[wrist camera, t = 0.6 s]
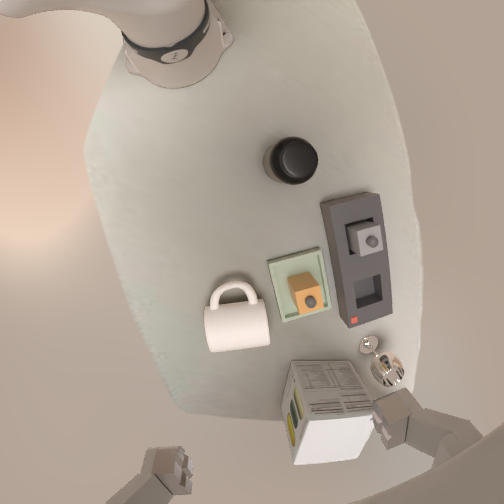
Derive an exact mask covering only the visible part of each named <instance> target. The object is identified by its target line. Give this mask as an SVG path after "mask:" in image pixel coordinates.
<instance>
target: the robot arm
mask: <svg viewBox="0 0 504 504" xmlns="http://www.w3.org/2000/svg"><path fill="white" fill-rule="evenodd" d="M53 10H78V11H85V12H91V13H96V14H99V15H103V16H105V17H107V18H109V19H110V20H112V22H114V23H115V24H116V25H117V26H118V27H119V28H120V29H121V32H122V35H123V37H124V38H123V43H124V44H125V45H126V49H125V54H126V56H127V63H126V68H127V70H128V72H129V73H131V74H135V75H141V76H143V77H145V78H146V79H148V80H149V81H150V82H152V83H153V84H155V85H158V86H161V87H165V88H181V87H186V86H189V85H192V84H194V83H197V82H199V81H200V80H202V79H203V78H205V77H206V76H207V75H208V74H209V73H210V72H211V71H212V70H213V69H214V68H215V66H216V65H217V63H218V61H219V59H220V56H221V54H222V53H223V51H225V50H226V49H227V48H228V47H229V46H230V45H231V44H232V43H233V36H232V34H231V32H230V31H229V29H228V27H227V26H226V24H225V22H224V21H223V19H222V17H221V16H220V14H219V13H218V11H217V9H216V8H215V6H214V5H213V3H212V2H211V0H0V14H1V15H4V16H7V17H12V18H22V17H26V16H29V15H32V14H36V13H40V12H46V11H53ZM223 33H225V35H223ZM372 407H373V409H374V412H373V413H372V418H373V423H374V426H375V429H376V431H377V432H378V433H380V434H382V436H381V440H382V442H383V444H384V445H385V447H386V449H387V450H388V449H390V448H393V447H395V446H398V445H400V444H402V443H406V444H408V445H410V446H412V447H413V448H416V449H418V450H420V451H422V452H424V453H426V454H428V455H430V456H432V457H434V458H435V459H434V462H433V465H432V468H431V469H430V470H428V471H427V472H425V473H423V474H421V475H419V476H417V477H415V478H412V479H410V480H408V481H406V482H404V483H402V484H399V485H397V486H395V487H393V488H390V489H388V490H385V491H383V492H380V493H378V494H375V495H373V496H370V497H367V498H365V499H362V500H359V501H356V502H353V503H350V504H504V423H503V424H501V425H500V426H498V427H497V428H496V429H495V430H493V431H492V432H490V433H489V434H488V435H486V436H485V437H483V436H482V435H481V433H480V432H479V431H478V430H477V429H476V427H474V425H473V424H472V423H471V422H470V421H469V420H465V419H462V418H458V417H454V416H451V415H448V414H444V413H441V412H437V411H434V410H431V409H427V408H425V409H423V408H422V407H421V406H420V405H419V403H418V402H417V401H416V399H415V398H414V397H413V396H412V394H411V393H410V392H409V391H408V389H407V388H402V389H400V390H398V391H395V392H393V393H390V394H388V395H386V396H383V397H381V398H378V399H376V400H373V402H372ZM184 452H185V451H184V449H183V448H182V447H181V446H171V447H149V448H148V449H147V451H146V454H145V458H144V462H143V465H142V469H141V473H140V474H137V475H136V476H135V477H134V478H133V479H132V480H131V481H129V482H128V483H127V484H126V485H125V486H124V487H123V488H122V489H121V490H119V491H118V492H117V493H116V494H115V495H114V496H113V497H111V498H110V499H109V500H108V501H107V502H106V504H168V503H169V501H170V500H171V499H172V497H173V495H185V494H191V490H192V482H191V480H190V478H191V477H192V476H193V465H192V462H191V459H190V458H189V457H188V456H187V455H185V454H184Z"/></svg>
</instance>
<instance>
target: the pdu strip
mask: <svg viewBox="0 0 504 504" xmlns="http://www.w3.org/2000/svg"><path fill="white" fill-rule="evenodd" d="M320 205H321V210H322V215H323V220H324V225H325V230H326V235H327V240H328V245H329V251H330V256H331V262H332V268H333V274H334V279H335V286H336V292H337V298H338V305H339V312H340V317H341V318H342V320H343V321H344V322H345V324H346V325H347V326H348V328H352V327H355V326H358V325H361V324H364V323H367V322H370V321H372V320H375V319H378V318H381V317H384V316H386V315H389V314H392V313H393V311H392V294H391V281H390V269H389V259H388V250H387V242H386V234H385V227H384V220H383V213H382V207H381V201H380V195H379V194H375V193H368V192H365V193H361V194H357V195H352V196H348V197H344V198H340V199H335V200H331V201H327V202H323V203H320ZM364 219H365V220H368V221H370V222H373V223H376V224H379V225H380V229H381V236H382V243H383V250H381V251H378V252H375V253H371V254H368V255H365V256H359V255H358V254H356V253H355V252H353V251H352V250H350V249H349V248H348V242H347V237H346V231H345V225H344V224H348V223H352V222H356V221H360V220H364Z"/></svg>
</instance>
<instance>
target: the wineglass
mask: <svg viewBox="0 0 504 504" xmlns="http://www.w3.org/2000/svg"><path fill="white" fill-rule="evenodd" d="M377 346H378V339H377V337H375V336H368V337H366V338H364V339H363V340H362V341H361V343H360V346H359V349H360V351H361V352H362V353H364V354H368V353H371V352H372V351H373V353H374V355H375V357H374V359H373V360H372V362H371V372H372V374H373V376H374V377H375V379H376V380H377V381H378V382H380V383H381V384H382V385H384V386H385V387H391V386H394V385H396V384H397V383H398V382H399V381H400V380H401V379H402V378H403V376H404V369H403V366H402V364H401V361H400V360H399V358H398V357H397V356H396V355H395V354H394V353H392V352H389V351H385V352H381V353H377V352H376V351H375V349H376V347H377Z"/></svg>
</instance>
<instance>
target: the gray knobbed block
mask: <svg viewBox="0 0 504 504" xmlns="http://www.w3.org/2000/svg"><path fill="white" fill-rule="evenodd" d="M344 225H345V231H346V237H347V242H348V248H349V249H350V250H352V251H353V252H355V253H356V254H358V255H359V256H365V255H368V254H371V253H375V252H378V251H381V250H383V243H382V236H381V229H380V225H379V224H376V223H373V222H370V221H368V220H365V219H364V220H360V221H356V222H352V223H348V224H344Z"/></svg>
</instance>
